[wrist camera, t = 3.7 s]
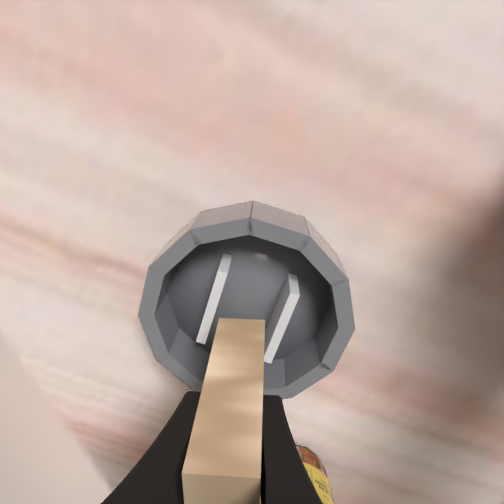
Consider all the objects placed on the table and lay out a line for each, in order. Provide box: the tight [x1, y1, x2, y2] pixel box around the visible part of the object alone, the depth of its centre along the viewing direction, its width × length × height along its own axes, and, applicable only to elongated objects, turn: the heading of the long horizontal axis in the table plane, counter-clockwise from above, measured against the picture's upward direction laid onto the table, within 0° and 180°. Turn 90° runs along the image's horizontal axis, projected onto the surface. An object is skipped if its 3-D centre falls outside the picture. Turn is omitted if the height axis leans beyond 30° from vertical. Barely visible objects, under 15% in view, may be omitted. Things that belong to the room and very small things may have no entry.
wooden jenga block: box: [182, 318, 265, 504], centre depth 13 cm, size 2×3×7 cm, turn 179°
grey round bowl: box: [138, 201, 355, 399], centre depth 19 cm, size 11×11×3 cm
